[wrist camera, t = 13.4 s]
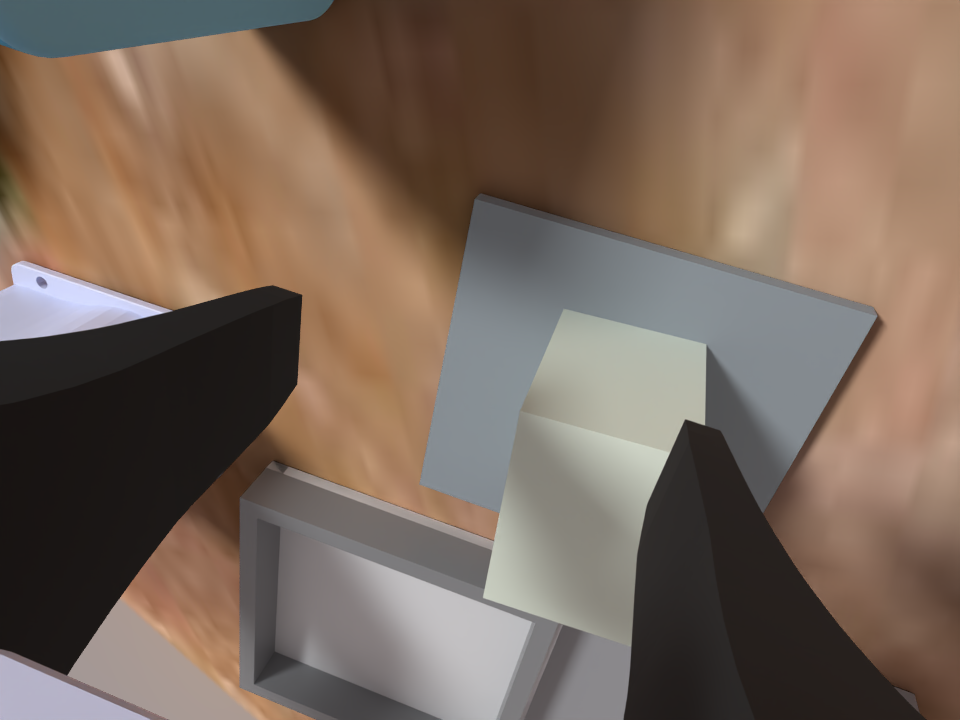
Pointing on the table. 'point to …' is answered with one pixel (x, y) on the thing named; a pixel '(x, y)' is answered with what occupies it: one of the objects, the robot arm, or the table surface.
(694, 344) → the block
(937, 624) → the table surface
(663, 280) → the slate mat
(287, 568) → the equipment case
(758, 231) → the table surface
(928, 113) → the table surface
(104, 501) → the robot arm
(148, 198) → the table surface
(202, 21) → the blue block
